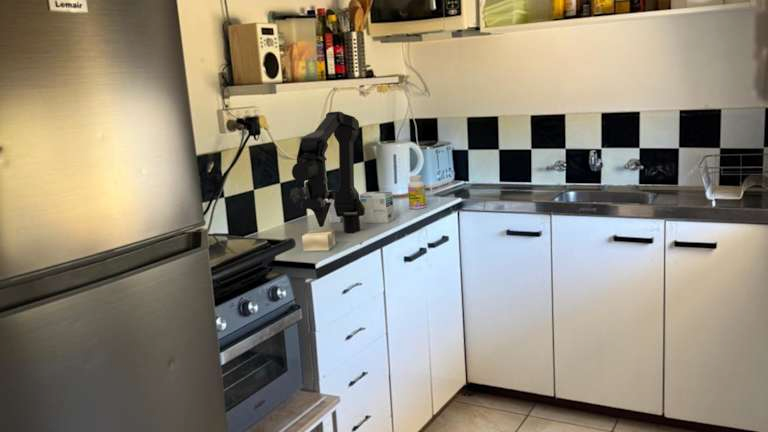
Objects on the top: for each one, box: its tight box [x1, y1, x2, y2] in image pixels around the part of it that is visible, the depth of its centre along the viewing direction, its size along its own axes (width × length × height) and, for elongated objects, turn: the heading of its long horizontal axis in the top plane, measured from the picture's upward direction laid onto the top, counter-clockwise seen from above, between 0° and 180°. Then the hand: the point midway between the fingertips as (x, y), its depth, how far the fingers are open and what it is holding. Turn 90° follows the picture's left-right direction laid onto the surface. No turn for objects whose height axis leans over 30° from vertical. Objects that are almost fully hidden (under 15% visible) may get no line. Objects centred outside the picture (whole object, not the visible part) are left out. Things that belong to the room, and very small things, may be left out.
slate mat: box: [292, 240, 350, 255], centre depth 223 cm, size 16×14×1 cm
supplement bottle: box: [407, 174, 427, 210], centre depth 285 cm, size 7×7×13 cm
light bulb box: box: [359, 190, 396, 224], centre depth 263 cm, size 11×7×11 cm, turn 66°
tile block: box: [301, 229, 336, 252], centre depth 221 cm, size 5×8×8 cm
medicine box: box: [327, 199, 343, 224], centre depth 271 cm, size 8×4×9 cm, turn 170°
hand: (321, 226), depth 224 cm, fingers closed
